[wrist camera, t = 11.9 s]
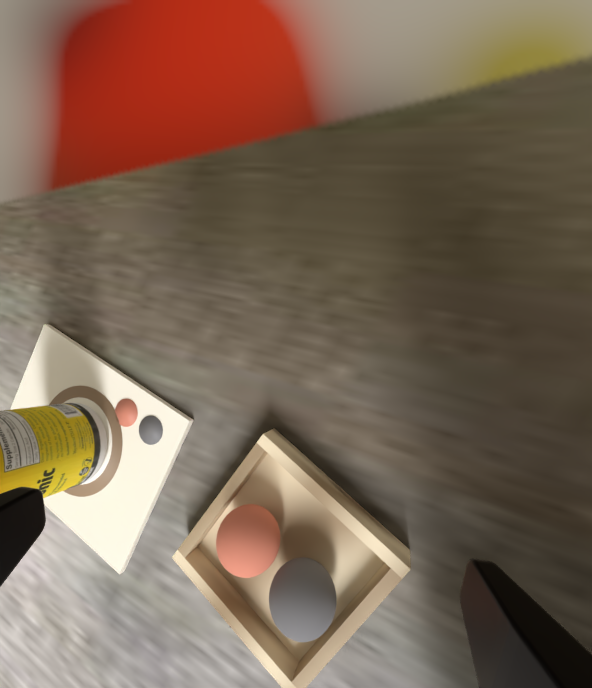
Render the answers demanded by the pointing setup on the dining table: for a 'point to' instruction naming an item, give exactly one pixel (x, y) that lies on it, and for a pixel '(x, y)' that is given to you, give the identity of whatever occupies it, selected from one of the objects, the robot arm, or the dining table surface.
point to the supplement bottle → (50, 447)
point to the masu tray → (295, 556)
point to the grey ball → (302, 599)
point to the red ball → (248, 541)
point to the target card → (122, 443)
